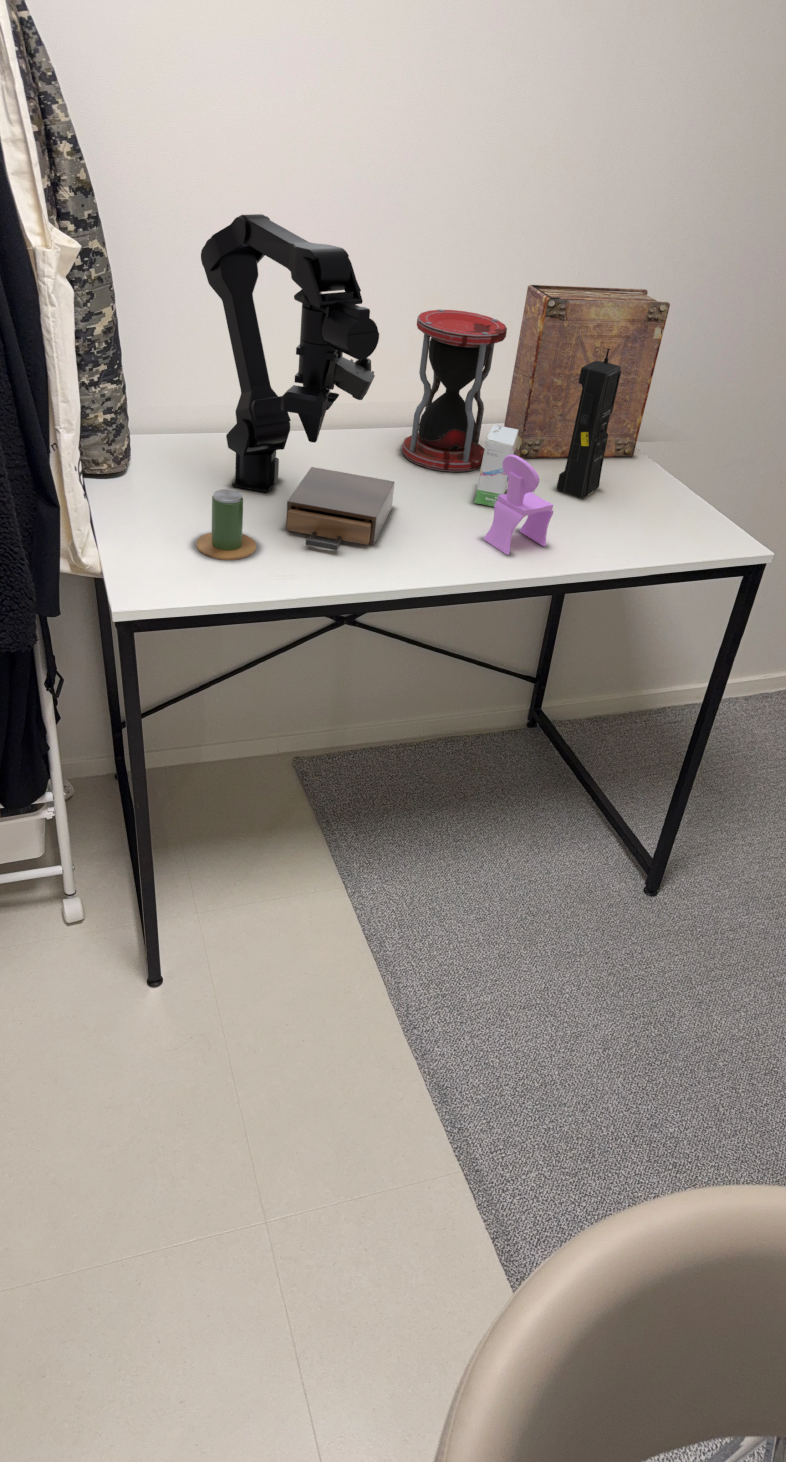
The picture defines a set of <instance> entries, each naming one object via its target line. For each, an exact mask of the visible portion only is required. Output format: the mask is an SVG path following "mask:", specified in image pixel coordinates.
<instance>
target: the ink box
mask: <svg viewBox="0 0 786 1462" xmlns="http://www.w3.org/2000/svg"><path fill="white" fill-rule="evenodd" d="M518 431H519V430H518V429H513V428H508V427H504V425H500V424H492V425H491V427H490V430H489V432H488V434H487V437H486V440H485V446H484V449H485V450H484V455H483V460H482V465H481V467H480V470H479V475H478V480H477V485H476V486H477V487H476V492H475V496H474V501H473V504H479V505H484V506H489V507H493V508H494V506H495V503H496V501H497V498H498V495H502V494H506V492H507V489H508V476H507V475H506V473H505V472H504V470H503V460H504V458H505V457H506V456H507V455H511V454H512V455H515V453H514V451H515V446H516V441H517V436H518Z"/></svg>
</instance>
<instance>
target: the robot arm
mask: <svg viewBox="0 0 786 1462" xmlns="http://www.w3.org/2000/svg"><path fill="white" fill-rule="evenodd" d="M265 256H266V257H267V258H269V259H271V260H272V261H274V262H276V264H279V265H281V266H282V267H284V268H286V269H287V270H288V271H289V272H290V277H291V280H292V281H293V282H294V283H295V284H296V286H298V287H299V288H300V290H299V291H298V292H296V293H295V294H294V295H293V299H294V300H295V301H296V302H298V303H301V314H300V315H301V317H300V336H299V344H298V345H297V346H296V347H295V355H296V356H298V372H296V373H295V374H294V383H296V384H302V385H295V384H293V385H292V386H291V387H289V388H288V389H287V390H286V391H285V392H284V394H283V395H278V394H277V393H276V392H275V390H274V389H273V388H272V386H271V380H270V376H269V371H268V366H267V360H266V355H265V351H264V345H263V342H262V341H263V340H262V336H261V331H260V326H259V320H258V315H257V310H256V306H255V301H254V290H255V288H256V285H257V282H258V278H259V266H258V264H259V263H260V262H261V260H262V259H264V257H265ZM200 261H201V265H202V267H203V269H204V273H205V276H206V279H207V283H208V285H209V286H210V287H211V289H212V290H213V291H214V293H215V294H217V296H218V298H219V299H221V302H222V307H223V310H224V316H225V320H226V325H227V330H228V335H229V340H230V346H231V349H232V354H233V355H232V356H233V359H234V360H233V361H234V364H235V368H236V373H237V379H238V383H239V389H240V396H239V399H238V403H237V405H236V409H235V420H236V423H235V424H234V425H233V427H232V428H231V429H230V430H229V431H228V432H227V433H226V437H225V438H226V444H227V449H229V450H231V451H233V452H234V453H235V471H234V473H235V474H234V475H235V476H234V477H235V478H234V480H233V481H232V482H231V486H232V487H234V488H240V489H245V490H251V491H257V492H262V493H270V491H271V489H273V487H274V486H275V485H276V484H277V483H278V481H279V469H280V467H279V466H280V459H279V457H277V451H283V450H285V447H286V445H287V441H288V438H289V436H290V433H291V420H292V419H291V417H290V415H289V413H291V414H297V415H298V417H299V419H300V422H301V425H302V427H303V429H304V432H305V435H306V437H307V440H308V442H309V443H316V442H317V441H318V439H319V435H320V433H321V429H322V426H323V423H324V419H325V416H326V412H327V411H328V410H329V409H330V408H331V407H332V406H333V404H334V402H336V401H337V399H338V398H339V397H340V394H339V393H337V392H332V391H331V390H334V389H335V387H337V388H338V389H339V390H342V391H344V392H345V393H347V394H349V395H351V397H352V398H353V399H355V400H358V401H363V400H364V398H365V396H366V395H367V394H368V391H369V389H370V387H371V385H372V384H373V381H374V379H375V377H376V375H375V371H373V370H372V360H371V359H370V358H369V357H371V356H372V354H373V353H374V352H375V350H376V349H377V346H378V344H379V340H380V332H379V329H378V326H377V323H376V322H375V320H374V319H372V318H370V317H371V310H370V308H368V307H366V306H360V305H362V304H363V298H362V297H363V296H362V294H361V292H362V290H361V287H360V285H359V283H358V280H357V277H356V274H355V271H354V268H353V264H352V261H351V258H350V256H349V253H348V251H346V250H345V249H344V247H341V246H336V245H331V244H326V243H316V242H310V241H308V240H307V239H304V238H303V237H301V236H299V235H297V234H296V233H294V232H292V231H290V230H289V229H287V228H285V227H283V226H281V225H279V224H278V223H276V222H274V221H272V220H271V219H270V217H268V216H267V215H265V214H261V213H256V214H255V213H254V214H241V215H239V216H237V217H235V218H234V219H233V221H232V222H231V223H230V224H229V225H227V226H225V227H224V228H222V229H220V230H218V231H217V232H215V233H214V234H212V235H211V236H210V238H209V239H208V240H206V242H205V244H204V245H203V247H202V249H201V251H200ZM343 354H345V355H347V356H349V357H351V359H348V358H346V357H344V355H343ZM352 358H354V359H355V361H354V359H352Z"/></svg>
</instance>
